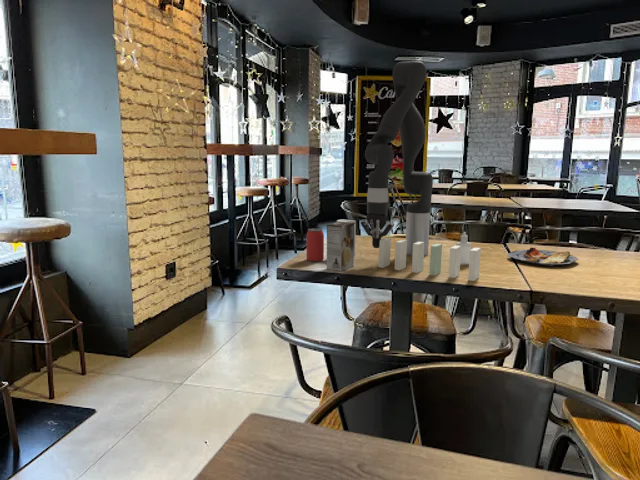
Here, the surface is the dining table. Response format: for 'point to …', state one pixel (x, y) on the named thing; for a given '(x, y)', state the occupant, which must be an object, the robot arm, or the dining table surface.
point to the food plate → (543, 257)
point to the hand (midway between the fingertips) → (376, 247)
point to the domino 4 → (454, 261)
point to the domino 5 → (474, 264)
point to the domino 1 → (384, 252)
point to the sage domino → (435, 259)
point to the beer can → (315, 245)
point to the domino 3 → (418, 257)
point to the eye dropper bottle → (464, 249)
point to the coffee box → (340, 245)
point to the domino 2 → (400, 254)
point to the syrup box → (354, 228)
